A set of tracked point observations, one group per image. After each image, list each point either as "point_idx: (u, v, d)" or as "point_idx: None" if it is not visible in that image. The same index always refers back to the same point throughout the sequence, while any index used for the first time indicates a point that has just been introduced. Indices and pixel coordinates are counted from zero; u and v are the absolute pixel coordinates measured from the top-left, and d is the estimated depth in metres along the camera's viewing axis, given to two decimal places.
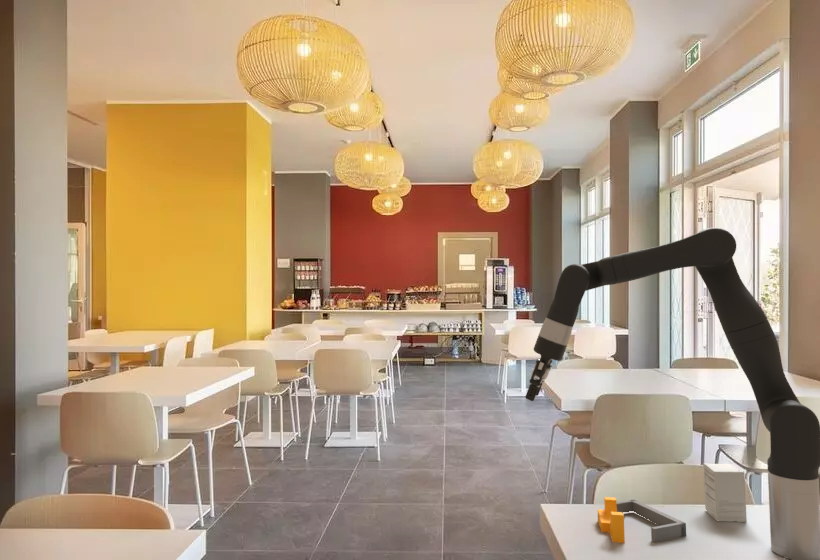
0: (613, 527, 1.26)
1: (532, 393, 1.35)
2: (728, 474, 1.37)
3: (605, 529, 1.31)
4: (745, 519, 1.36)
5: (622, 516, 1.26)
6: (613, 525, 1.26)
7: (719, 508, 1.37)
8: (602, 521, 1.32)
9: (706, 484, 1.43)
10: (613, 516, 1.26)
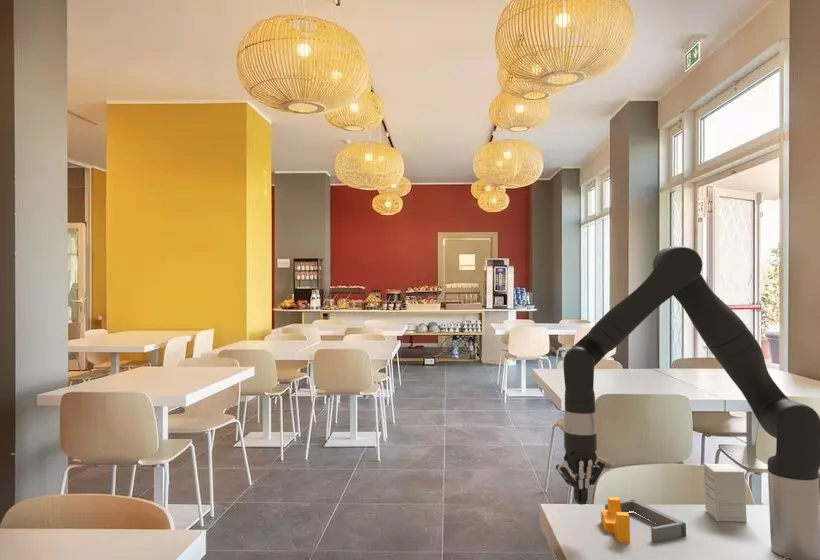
0: (619, 527, 1.26)
1: (577, 496, 1.28)
2: (728, 474, 1.37)
3: (610, 529, 1.31)
4: (745, 519, 1.36)
5: (628, 516, 1.25)
6: (619, 525, 1.26)
7: (719, 508, 1.37)
8: (606, 521, 1.32)
9: (706, 484, 1.43)
10: (619, 516, 1.26)
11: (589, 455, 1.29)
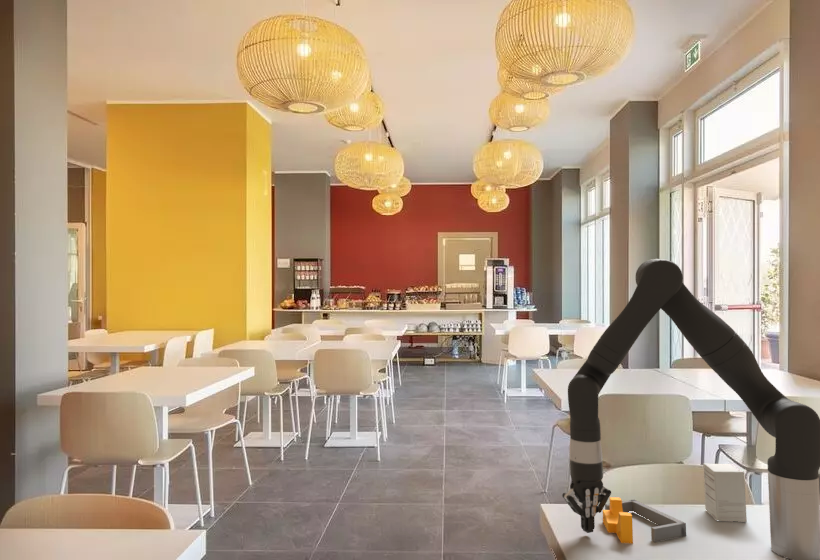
0: (621, 528, 1.25)
1: (583, 524, 1.28)
2: (728, 474, 1.37)
3: (612, 530, 1.31)
4: (745, 519, 1.36)
5: (630, 516, 1.25)
6: (621, 526, 1.25)
7: (719, 508, 1.37)
8: (609, 522, 1.32)
9: (706, 484, 1.43)
10: (621, 517, 1.26)
11: (595, 483, 1.29)
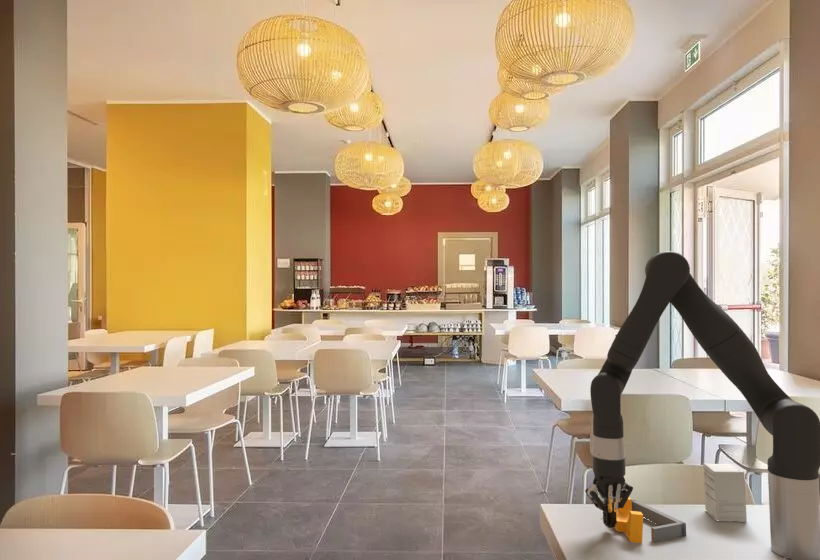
0: (632, 526, 1.26)
1: (606, 519, 1.31)
2: (728, 474, 1.37)
3: (620, 528, 1.31)
4: (745, 519, 1.36)
5: (641, 516, 1.25)
6: (632, 524, 1.26)
7: (719, 508, 1.37)
8: (618, 520, 1.32)
9: (706, 484, 1.43)
10: (632, 515, 1.26)
11: (618, 479, 1.32)
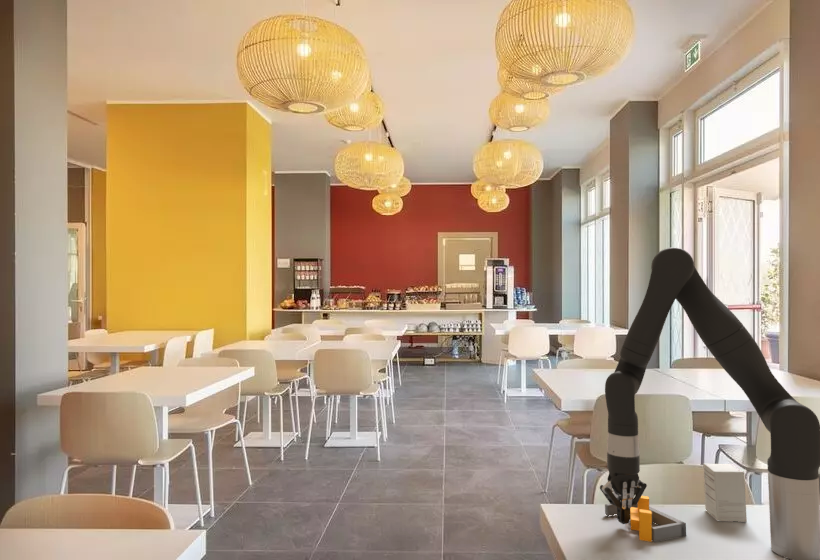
0: (640, 524, 1.27)
1: (620, 515, 1.33)
2: (728, 474, 1.37)
3: (634, 526, 1.32)
4: (745, 519, 1.36)
5: (650, 514, 1.26)
6: (640, 522, 1.27)
7: (719, 508, 1.37)
8: (632, 518, 1.33)
9: (706, 484, 1.43)
10: (641, 513, 1.27)
11: (632, 476, 1.33)
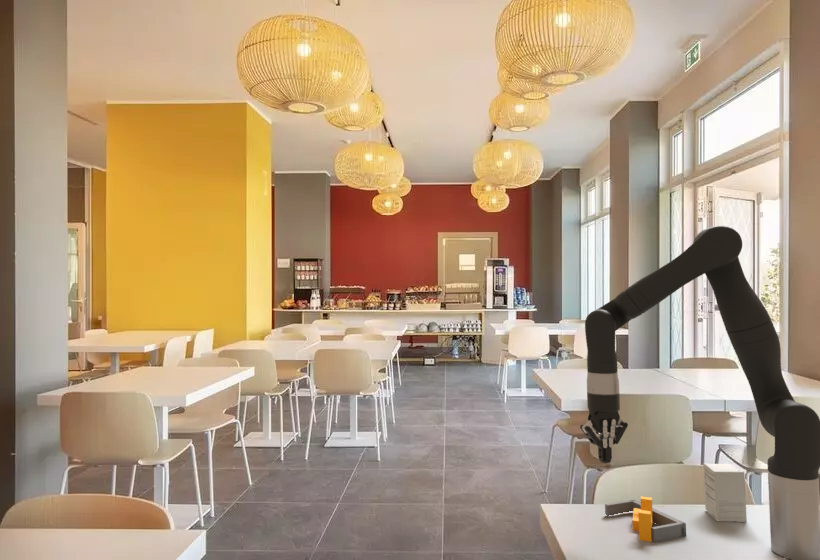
0: (640, 525, 1.27)
1: (601, 455, 1.31)
2: (728, 474, 1.37)
3: (636, 527, 1.32)
4: (745, 519, 1.36)
5: (649, 515, 1.26)
6: (639, 523, 1.27)
7: (719, 508, 1.37)
8: (634, 519, 1.33)
9: (706, 484, 1.43)
10: (639, 514, 1.27)
11: (612, 415, 1.32)
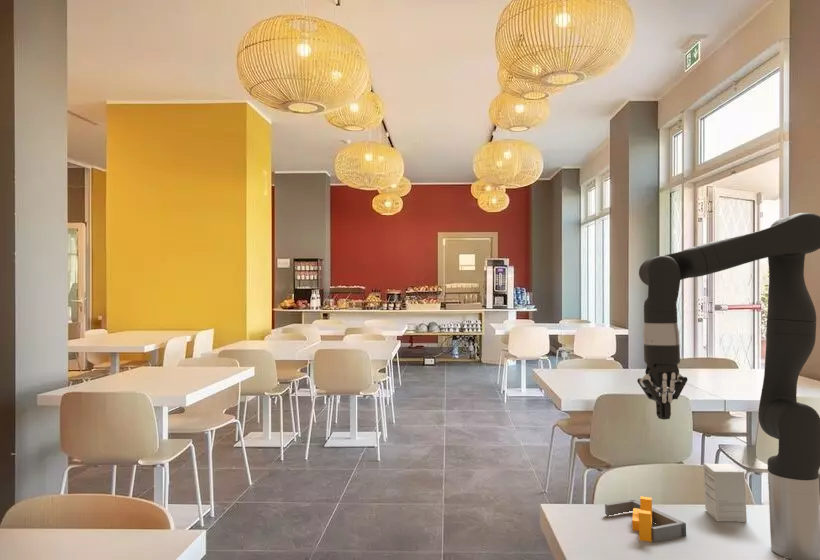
0: (640, 525, 1.27)
1: (660, 411, 1.23)
2: (728, 474, 1.37)
3: (636, 527, 1.32)
4: (745, 519, 1.36)
5: (649, 515, 1.26)
6: (639, 523, 1.27)
7: (719, 508, 1.37)
8: (634, 519, 1.33)
9: (706, 484, 1.43)
10: (639, 514, 1.27)
11: (671, 368, 1.24)
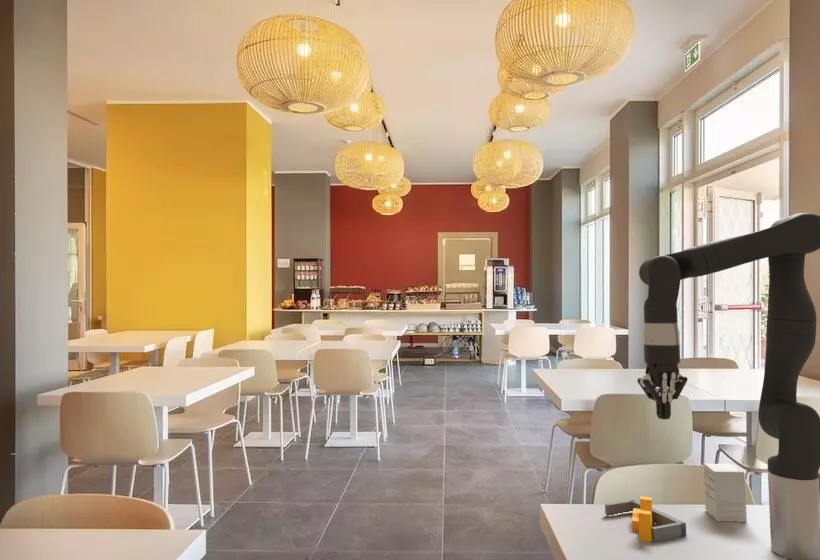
0: (639, 525, 1.27)
1: (660, 410, 1.23)
2: (728, 474, 1.37)
3: (636, 527, 1.32)
4: (745, 519, 1.36)
5: (649, 515, 1.26)
6: (639, 523, 1.27)
7: (719, 508, 1.37)
8: (633, 519, 1.33)
9: (706, 484, 1.43)
10: (639, 514, 1.27)
11: (672, 368, 1.24)
